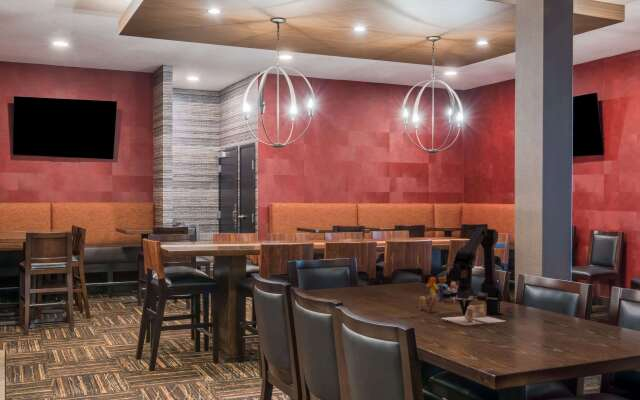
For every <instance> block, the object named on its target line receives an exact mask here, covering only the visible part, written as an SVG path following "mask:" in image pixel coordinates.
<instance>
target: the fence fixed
mask: <svg viewBox="0 0 640 400" xmlns="http://www.w3.org/2000/svg"><path fill="white" fill-rule="evenodd" d="M469 307H470V309H472V310H473V318H474V317H486V316H487V314H486V303H485V302H481V304H475V305H469Z"/></svg>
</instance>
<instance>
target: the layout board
mask: <svg viewBox="0 0 640 400" xmlns="http://www.w3.org/2000/svg"><path fill="white" fill-rule="evenodd" d="M440 319H441V320H443V319H444V321H447V320H448V321H447V322H450V321H451V323H455V324H457V325H461V326H472V325H474V326H475V325H482V324H484V325H485V324H493V323H495V324H496V323H506V320H504V319H503V320H502V319H499V318H496V317H491V316H487V315H486V317H474V318H473V322H468V321H467V319H466V318H465V316H464V315H462V316H450V317H449V316H448V317H441V318H440Z"/></svg>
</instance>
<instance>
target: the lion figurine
mask: <svg viewBox="0 0 640 400" xmlns="http://www.w3.org/2000/svg"><path fill="white" fill-rule="evenodd" d="M439 301H440V300H439V296H438V297H437V295H436V294H435V293H433V294H430V293H429V294H428V295H427V296H424V295H421V296H419V299H418V305H417V306H415V307H414V308H415V309H417V308H418V311H422V310H423V309H424V307H423V306H425V307H426V313H433V312H434V310H432V309H433V307H434V306H435V305H436V304H437V303H439Z"/></svg>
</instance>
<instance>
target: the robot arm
mask: <svg viewBox="0 0 640 400" xmlns="http://www.w3.org/2000/svg"><path fill="white" fill-rule="evenodd" d="M498 240H499V233H498V231H497V230H496V228H493V229H492V228H487V227H475V228H474V230H473V233H472V234H471V237H470V238H469V240H468V241H467V243H466V244H465V245H464V246H461V247H460V248H459V249H458V251H457V252H456V253H455V256H454V260H453V263H452V268H451V269H450V270H449V271H448V277H449V279H450V280H451V281H452V282H458V284H457V285H458V288H457V292H456V293H454V292H453V291H452V290H447V289H446V290H445V291H443V292H442V298H446V299H450V297H456V299H455V302H458V303H459V305H460V308H461V311H462V316H465V314H466V311H467V308H468V306H470V305H471V304H470V303H472V302H474V299H477V300H478V301H482V302H484V303H486V315H491V316H492V315H493V316H494V315H503V312H501V302H503V301H504V294H503V292H502V289H501V285H500V282H499V281H498V280H497V278H496V259H495V258H496V257H495V247H496V245H497V243H498V242H499V241H498ZM480 246H481V247H482V249H483V266H484V267H483V268H484V269H483V270H484V280H483V281H482V283H481V285H480V288H481V289H480V291H479V292H477V293H475V289H474V287H473V269H474V265H473V264H474V262H475V261H476V257H477V256H476V252H477V250H478V249H479V247H480Z"/></svg>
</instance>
